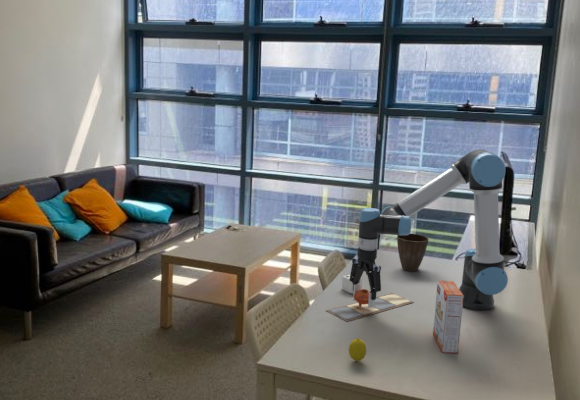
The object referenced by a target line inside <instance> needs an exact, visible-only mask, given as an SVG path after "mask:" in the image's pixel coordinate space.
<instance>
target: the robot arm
mask: <svg viewBox="0 0 580 400" xmlns="http://www.w3.org/2000/svg"><path fill="white" fill-rule="evenodd" d="M505 176H506V164H505V162H504V161H503V160H502V158H501V157H500V156H498V155H497V154H495V153H493V152H489V151H487V150H485V149H474V150H471V151H469V152H468V153H466V154H465V155H463V156H462V157H460V158H459V159H457V160H456V161H455V162H453V163H451V165H450V168H449V169H447V170H445V171H444V172H443V173H441V174H439V175H438V176H436V177H435V178H432V179H431V180H430V181H429V182H427V183H425V184H424V185H422V186H421V187H419V188H417V189H416V190H415V191H413V192H412V193H410V194H408V195H407V196H406V197H404V198H402V199H401V200H399V201H398V202H396V203H395V204H393V205H389V206H386V207H384V208H383V209H382V211H381V210H380V209H378V208H373V207H364V208H362V209H361V210H360V213H359V220H358V221H359V223H358V224H359V226H358V240H357V242H358V243H357V247H358V248H357V255H356V257H353V258H352V260H351V261H352V263H351V270H350V274H349V275H350V279H349V280H350V281H352V283H353V293H352V295H353V296H352V301H354V302H357V301H356V300H355V299H354V294H355V293H356V292H358V291H360V284H358V283H360V282H359V281H360V279H361V278H362V276H363V274H364V272H365V274H366V276H367V279H368V285H369V288H370V289H369V290H368V291H369V300H368V308H371V307H374V304H375V300H376V297H377V293H378V292H382V284H381V283H382V282H381V269H382V266H380V265H377V264H376V259H377V257H378V256H377V255H378V243H379V242H378V241H379V235H391V236H397V235H400V236H401V235H409V234H411V229H412V216H414V215H415V214H416V213H418V212H420V211H421V210H422V209H425V207H428V206H429V205H431V204H432V203H434V202H436V201H438V200H439V199H440V198H441V197H444V196H445V195H446V194H448V193H450V192H451V191H453V190H454V189H456V188H457V187H459V186H460V185H467V184H469V190H470V191H471V192H472V193H473V205H474V206H473V207H474V208H473V209H474V234H475V235H474V239H475V241H474V242H475V248H468V249H466V250H465V253H464V256H463V257H464V260H463V270H462V278H461V279H462V281H461V285H460V287H459V290H460V291H461V293H462V294H463V295H464V299H463V308H466V309H469V310H475V311H488V310H489V311H490V310H492V309H493V308H494V306H495V299H494V296H495V295H497V294H500V293H501V292H503V291H504V290H505V289H506V288H507V286H508V281H509V279H508V274H507V272H506V271H505V258H504V256H503V255H502V254H501V253H500V228H499V227H500V222H499V221H500V220H499V192H500V191H501V190H502V189H503V180H504V179H505Z"/></svg>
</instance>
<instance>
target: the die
mask: <svg viewBox="0 0 580 400" xmlns="http://www.w3.org/2000/svg"><path fill="white" fill-rule="evenodd" d="M349 279H350V274H347V275H343V276H342V279H341V280H342V282H341V290H343V291H344V292H347V293H349V294H352V295H353V283H352V281H350V280H349ZM359 282H360V283H358V284H360V290H362V289H363V277H361V279H360V281H359Z"/></svg>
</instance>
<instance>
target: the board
mask: <svg viewBox="0 0 580 400" xmlns="http://www.w3.org/2000/svg"><path fill="white" fill-rule="evenodd" d="M413 303H414V301H412V300H410V299H408V298H405V297H402V296H401V295H398V294H396V293H392V292H390V293H386V294H384V295H380V296H376V300H375V304H374V307H371V308H368V304H362V305H361V307H359V303H358V302H357V301H355V302H353V303H350V304H346V305H342V306H341V305H340V306H337V307H334V308H331V309H326V310H325V312H328V313H329V314H332V315H333V316H335V317H337V318H339V319H341V320H344V321H345V322H352V321H355V320H358V319H361V318H365V317H368V316H371V315H375V314H378V313H382V312H385V311H390V310H393V309H396V308H400V307H404V306H407V305H410V304H413Z"/></svg>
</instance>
